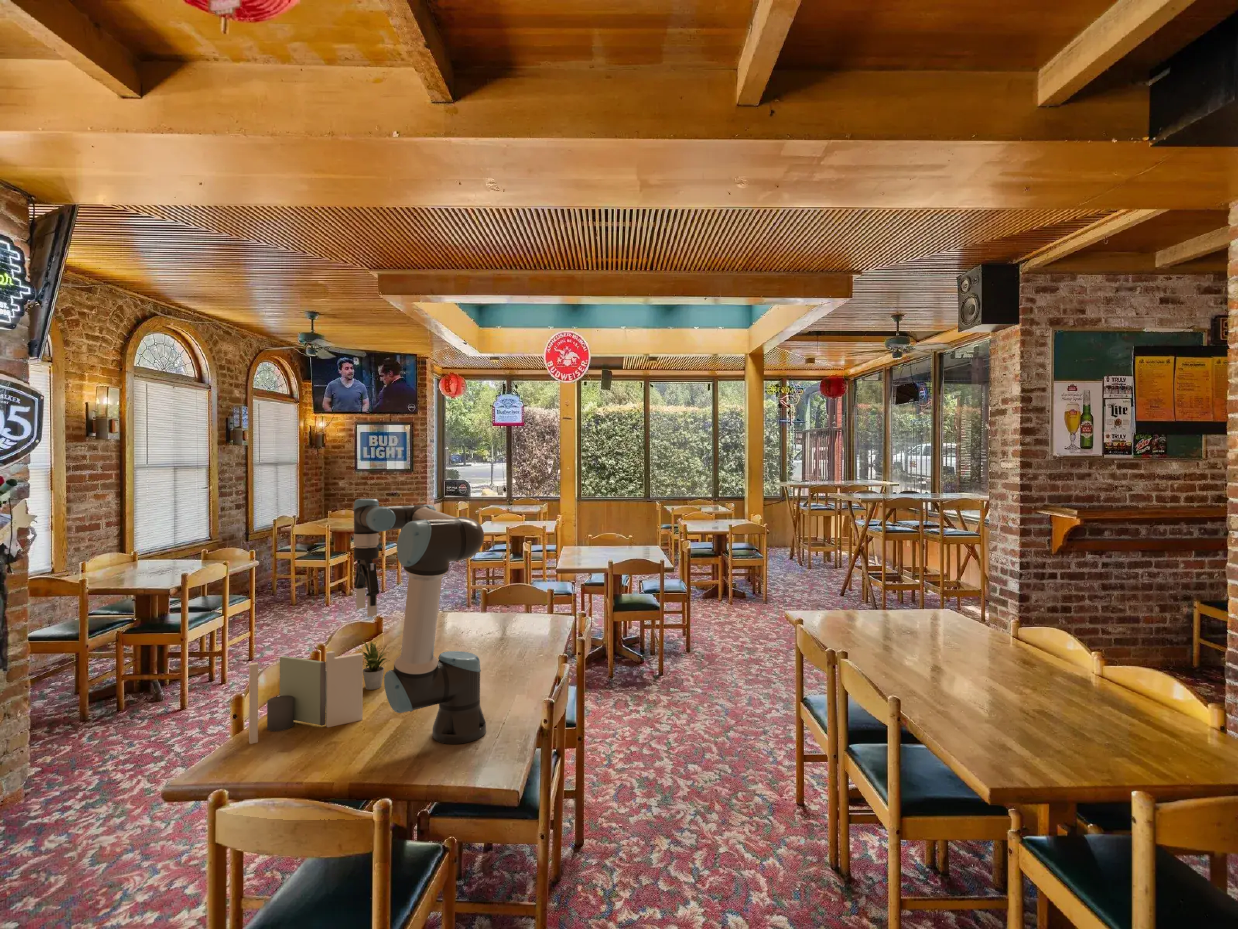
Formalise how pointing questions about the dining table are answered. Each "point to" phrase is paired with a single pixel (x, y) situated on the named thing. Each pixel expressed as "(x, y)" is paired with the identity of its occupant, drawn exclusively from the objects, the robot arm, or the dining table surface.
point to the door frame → (340, 691)
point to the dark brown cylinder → (280, 713)
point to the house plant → (373, 667)
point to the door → (305, 688)
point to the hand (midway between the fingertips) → (366, 612)
